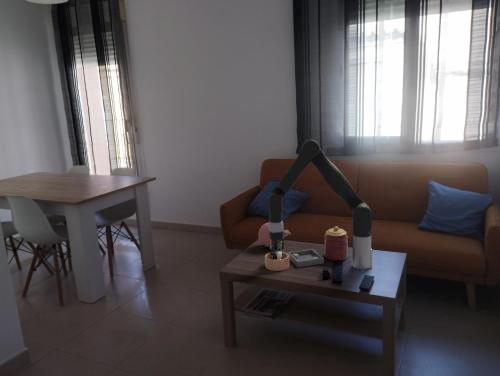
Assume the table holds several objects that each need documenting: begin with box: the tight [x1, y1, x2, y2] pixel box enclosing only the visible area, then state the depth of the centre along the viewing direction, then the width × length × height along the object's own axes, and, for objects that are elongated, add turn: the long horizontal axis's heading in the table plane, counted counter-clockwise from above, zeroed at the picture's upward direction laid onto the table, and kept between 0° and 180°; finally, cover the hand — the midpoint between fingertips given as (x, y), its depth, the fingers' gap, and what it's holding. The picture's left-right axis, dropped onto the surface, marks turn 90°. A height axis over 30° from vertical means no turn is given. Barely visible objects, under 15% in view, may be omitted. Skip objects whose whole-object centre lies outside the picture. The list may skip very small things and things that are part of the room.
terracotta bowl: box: [264, 251, 290, 272], centre depth 220 cm, size 13×13×6 cm
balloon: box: [257, 222, 292, 248], centre depth 247 cm, size 15×20×15 cm
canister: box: [323, 225, 349, 261], centre depth 228 cm, size 13×13×18 cm
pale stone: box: [272, 250, 283, 260], centre depth 219 cm, size 5×5×5 cm
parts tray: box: [287, 248, 325, 268], centre depth 226 cm, size 15×15×3 cm
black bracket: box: [318, 267, 332, 282], centre depth 205 cm, size 12×7×5 cm, turn 176°
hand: (277, 259), depth 220 cm, fingers closed on pale stone, 5 cm apart
